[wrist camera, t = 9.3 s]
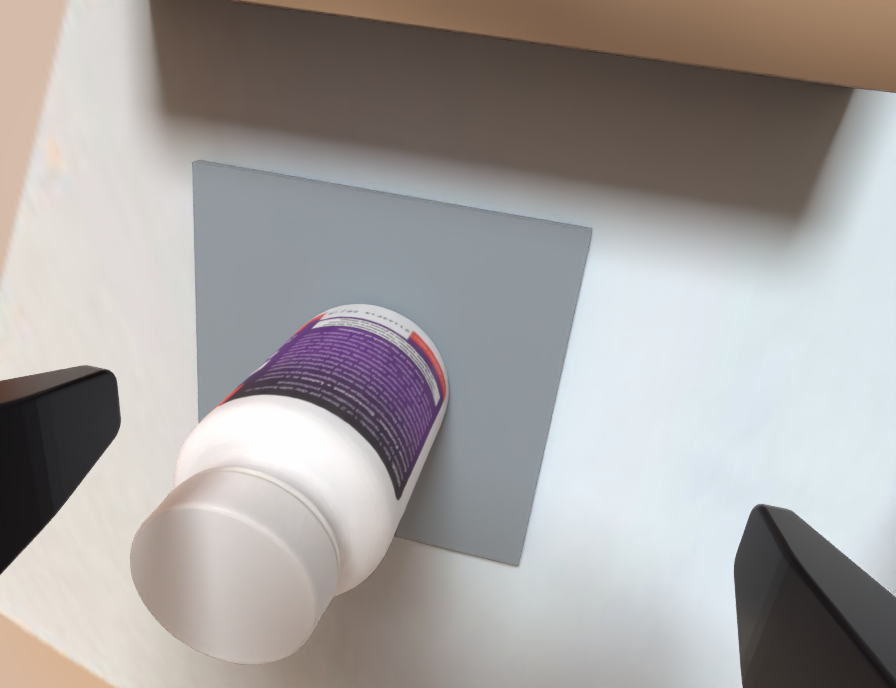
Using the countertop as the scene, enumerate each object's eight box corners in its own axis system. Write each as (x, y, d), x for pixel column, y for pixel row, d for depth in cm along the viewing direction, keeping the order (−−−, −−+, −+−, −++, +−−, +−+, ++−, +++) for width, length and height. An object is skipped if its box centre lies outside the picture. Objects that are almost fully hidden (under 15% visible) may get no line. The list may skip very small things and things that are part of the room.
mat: (519, 558, 24) (518, 565, 24) (206, 483, 26) (200, 489, 25) (592, 228, 19) (592, 231, 19) (199, 160, 21) (192, 162, 20)
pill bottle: (292, 287, 21) (79, 447, 13) (459, 314, 21) (358, 505, 12) (291, 434, 24) (109, 659, 15) (443, 464, 23) (347, 720, 14)
